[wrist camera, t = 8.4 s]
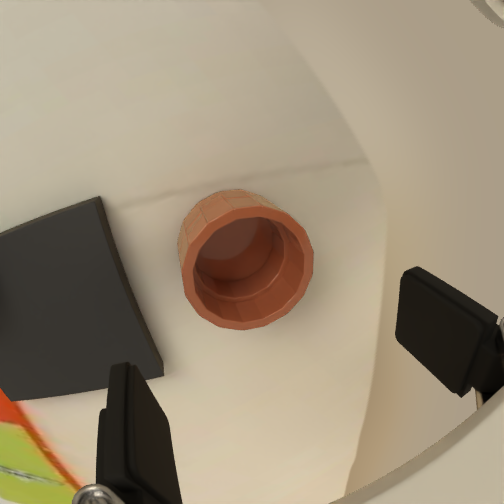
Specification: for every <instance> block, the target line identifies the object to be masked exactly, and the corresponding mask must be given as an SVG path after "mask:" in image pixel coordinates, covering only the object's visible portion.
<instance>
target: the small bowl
mask: <svg viewBox="0 0 504 504" xmlns="http://www.w3.org/2000/svg"><path fill="white" fill-rule="evenodd" d="M177 244H178V251H179V259H180V266H181V273H182V279H183V285H184V292H185V296H186V298H187V299H188V301H189V302H190V303H191V305H192V306H193V308H194V309H195V311H196V312H197V313H198V314H199V315H200V316H201V317H203V318H204V319H206V320H208V321H209V322H211V323H213V324H215V325H216V326H218V327H222V328H228V329H235V330H248V329H253V328H258V327H263V326H265V325H268V324H270V323H272V322H274V321H275V320H277V319H279V318H281V317H282V316H284V315H286V314H287V313H288V312H289V311H290V310H291V309H292V308H293V307H294V306H295V305H296V304H297V303H298V301H299V300H300V299H301V298H302V297H303V296H304V293H305V291H306V289H307V286H308V284H309V282H310V280H311V277H312V274H313V253H314V252H313V249H312V246H311V244H310V241H309V239H308V236H307V234H306V231H305V230H304V228H303V227H302V226H301V225H300V224H298V223H297V222H296V221H295V220H294V219H293V218H292V217H291V216H290V215H289V214H287V213H286V212H285V211H283V210H282V209H280V208H279V207H277V206H276V205H274V204H273V203H271V202H270V201H268V200H267V199H265V198H264V197H262V196H260V195H257V194H254V193H251V192H248V191H245V190H229V191H220V192H217V193H215V194H213V195H211V196H209V197H208V198H206V199H204V200H202V201H200V202H199V203H198V204H196V206H195V207H194V208H193V209H192V211H191V212H190V213H189V214H188V215H187V217H186V218H185V219H184V221H183V223H182V227H181V230H180V234H179V237H178V243H177Z"/></svg>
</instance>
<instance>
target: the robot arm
mask: <svg viewBox="0 0 504 504" xmlns="http://www.w3.org/2000/svg"><path fill="white" fill-rule="evenodd" d="M502 1H503V2H504V0H502ZM497 319H498V316H497V315H496V314H494V313H493V312H491V311H490V310H488V309H486V308H485V307H484V306H482V305H481V304H479V303H477V302H476V301H474V300H473V299H471V298H470V297H468V296H467V295H465V294H463V293H462V292H460V291H459V290H457V289H455V288H454V287H452V286H451V285H449V284H447V283H446V282H444V281H442V280H441V279H439V278H437V277H436V276H434V275H433V274H431V273H429V272H427V271H426V270H424V269H422V268H420V267H418V266H416V267H414V268H411V269H409V270H406V271H405V272H404V273H403V276H402V277H401V280H400V292H399V303H398V313H397V322H396V331H395V336H396V339H397V341H398V342H399V343H400V344H401V345H402V346H403V347H404V348H405V349H406V350H407V351H409V352H410V353H411V354H412V355H413V356H414V357H415V358H416V359H417V360H418V361H419V362H420V363H422V365H424V366H425V367H426V368H427V369H428V370H429V371H430V372H431V373H432V374H433V375H434V376H435V377H436V378H437V379H438V380H439V381H441V383H443V384H444V385H445V386H446V387H447V388H448V389H449V390H450V391H451V392H452V393H457V394H458V395H459V396H460V397H461V398H462V397H463V396H464V395H465V394H466V393H468V392H469V391H470V390H471V388H472V387H473V388H474V389H475V393H476V404H477V411H476V412H475V413H473V414H472V415H471V416H470V417H469V418H467V419H466V420H465V421H464V422H462V423H461V424H460V425H459V426H457V427H456V428H455V429H454V430H452V431H451V432H450V433H448V434H447V435H446V436H444V437H443V438H442V439H441V440H439V441H438V442H436V443H435V444H434V445H432V446H431V447H429V448H428V449H426V450H425V451H423V452H422V453H421V454H419V455H418V456H416V457H415V458H413V459H411V460H410V461H408V462H407V463H405V464H403V465H402V466H400V467H399V468H397V469H395V470H394V471H392V472H390V473H388V474H387V475H385V476H383V477H381V478H380V479H378V480H376V481H374V482H372V483H370V484H369V485H367V486H365V487H363V488H361V489H359V490H357V491H355V492H353V493H351V494H349V495H347V496H344V497H342V498H340V499H338V500H336V501H334V502H331V503H329V504H504V317H503V318H502V319H501V321H500V325H497V324H496V322H497ZM72 504H183V503H182V499H181V494H180V488H179V483H178V478H177V472H176V466H175V460H174V454H173V447H172V440H171V433H170V426H169V422H168V419H167V417H166V415H165V413H164V412H163V410H162V408H161V407H160V405H159V403H158V402H157V400H156V398H155V397H154V395H153V393H152V392H151V390H150V388H149V386H148V385H147V383H146V381H145V379H144V378H143V376H142V374H141V372H140V370H139V368H138V367H137V365H131V364H130V363H129V362H123V363H119V364H114V365H112V366H111V368H110V375H109V384H108V394H107V406H106V408H105V409H102V410H101V411H100V414H99V424H98V438H97V457H96V484H90V485H86V486H84V487H82V488H81V489H79V490H78V492H77V493H76V494H75V495H74V497H73V500H72Z"/></svg>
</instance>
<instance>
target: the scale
mask: <svg viewBox="0 0 504 504" xmlns="http://www.w3.org/2000/svg"><path fill="white" fill-rule="evenodd" d="M123 362H129V363H130V364H131V365H137V367H138V368H139V370H140V372H141V374H142V376H143V378H144V379H145V380H149V379H153V378H158V377H162V376H164V367H163V361H162V359H161V357H160V355H159V353H158V351H157V349H156V346H155V344H154V342H153V340H152V338H151V335H150V333H149V331H148V328H147V326H146V324H145V322H144V319H143V317H142V314H141V312H140V310H139V307H138V305H137V302H136V300H135V297H134V295H133V292H132V290H131V287H130V285H129V282H128V279H127V277H126V274H125V271H124V269H123V266H122V263H121V260H120V257H119V255H118V252H117V249H116V246H115V243H114V240H113V237H112V234H111V231H110V228H109V225H108V221H107V218H106V215H105V212H104V208H103V205H102V201H101V198H100V196H98V197H95V198H92V199H89V200H86V201H83V202H80V203H77V204H74V205H71V206H69V207H66V208H63V209H60V210H57V211H55V212H52V213H49V214H47V215H44V216H41V217H39V218H36V219H34V220H31V221H29V222H26V223H24V224H21V225H19V226H16V227H14V228H11V229H9V230H7V231H4V232H2V233H0V388H1V389H2V391H3V392H4V393H5V394H6V396H7V397H8V398H9V399H10V401H21V400H31V399H39V398H47V397H55V396H62V395H69V394H76V393H82V392H88V391H94V390H99V389H105V388H108V384H109V375H110V368H111V366H112V365H114V364H119V363H123Z"/></svg>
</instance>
